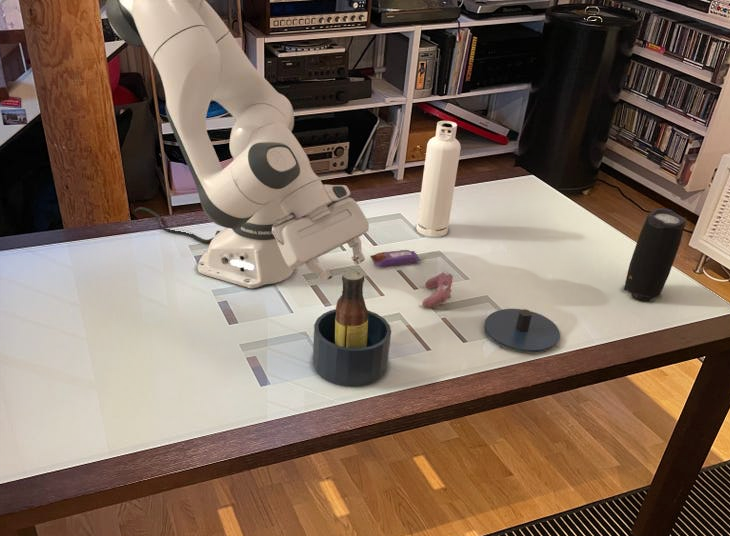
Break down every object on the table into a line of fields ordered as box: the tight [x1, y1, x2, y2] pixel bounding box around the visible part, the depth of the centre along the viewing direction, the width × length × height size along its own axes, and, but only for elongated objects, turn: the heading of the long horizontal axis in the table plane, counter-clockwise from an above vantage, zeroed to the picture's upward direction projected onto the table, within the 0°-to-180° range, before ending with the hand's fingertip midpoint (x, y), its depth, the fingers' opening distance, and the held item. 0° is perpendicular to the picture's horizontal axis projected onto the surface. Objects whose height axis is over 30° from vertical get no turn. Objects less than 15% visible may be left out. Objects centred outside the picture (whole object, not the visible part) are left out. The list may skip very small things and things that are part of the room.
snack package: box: [369, 249, 422, 268], centre depth 184 cm, size 12×2×5 cm
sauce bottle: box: [335, 268, 369, 348], centre depth 144 cm, size 7×6×20 cm
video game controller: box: [422, 271, 454, 309], centre depth 170 cm, size 10×5×7 cm, turn 168°
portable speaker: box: [623, 207, 687, 302], centre depth 170 cm, size 9×9×20 cm
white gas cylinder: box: [415, 120, 462, 238], centre depth 191 cm, size 8×8×28 cm
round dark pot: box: [312, 308, 392, 388], centre depth 148 cm, size 15×15×8 cm
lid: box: [483, 308, 561, 353], centre depth 160 cm, size 16×16×5 cm
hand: (344, 271), depth 142 cm, fingers open, 8 cm apart
